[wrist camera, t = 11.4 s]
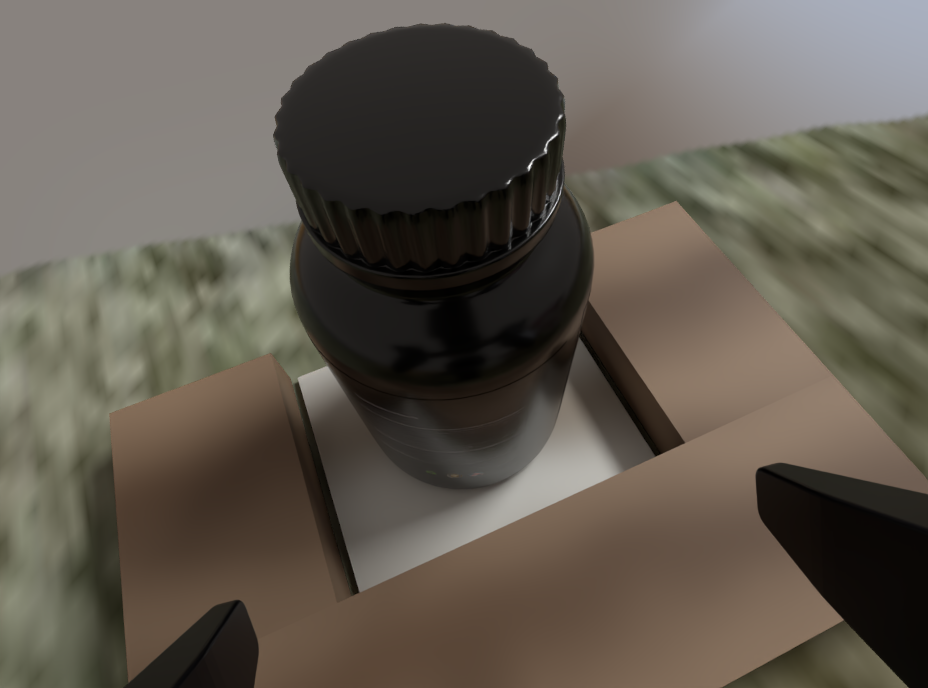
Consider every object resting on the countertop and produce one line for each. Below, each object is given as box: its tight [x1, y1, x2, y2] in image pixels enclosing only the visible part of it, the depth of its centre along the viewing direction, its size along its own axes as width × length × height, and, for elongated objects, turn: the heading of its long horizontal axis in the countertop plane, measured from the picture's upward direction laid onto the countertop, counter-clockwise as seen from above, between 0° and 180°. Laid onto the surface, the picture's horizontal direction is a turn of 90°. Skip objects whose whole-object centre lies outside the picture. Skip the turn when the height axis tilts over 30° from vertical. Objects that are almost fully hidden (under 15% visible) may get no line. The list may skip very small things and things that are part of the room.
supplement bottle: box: [273, 23, 594, 489], centre depth 14 cm, size 7×7×12 cm
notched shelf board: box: [109, 201, 928, 688], centre depth 16 cm, size 14×22×2 cm, turn 113°
